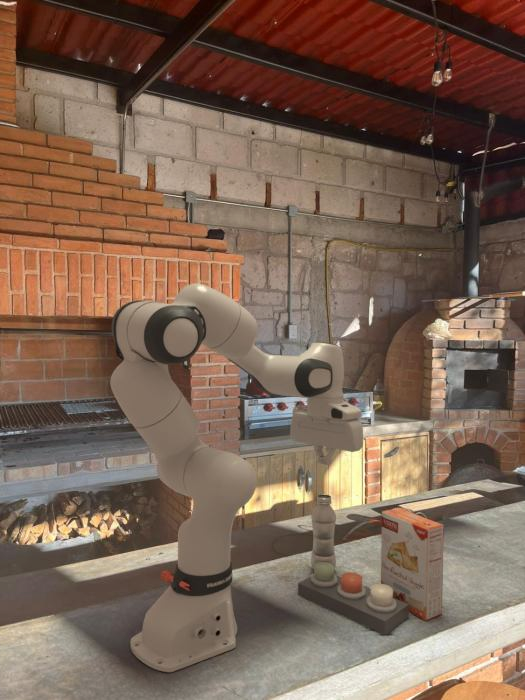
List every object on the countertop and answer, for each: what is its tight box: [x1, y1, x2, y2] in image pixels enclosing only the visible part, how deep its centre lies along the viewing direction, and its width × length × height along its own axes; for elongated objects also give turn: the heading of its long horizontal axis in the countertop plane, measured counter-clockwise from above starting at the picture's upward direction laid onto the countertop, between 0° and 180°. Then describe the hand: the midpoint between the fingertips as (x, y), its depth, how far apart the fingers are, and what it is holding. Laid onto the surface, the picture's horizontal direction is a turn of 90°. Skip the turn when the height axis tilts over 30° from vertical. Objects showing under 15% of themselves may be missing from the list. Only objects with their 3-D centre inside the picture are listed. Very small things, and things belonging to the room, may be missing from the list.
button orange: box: [340, 571, 363, 593], centre depth 124 cm, size 5×5×3 cm
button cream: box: [370, 583, 393, 606], centre depth 118 cm, size 5×5×3 cm
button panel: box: [297, 573, 410, 636], centre depth 124 cm, size 10×24×4 cm, turn 46°
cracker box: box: [380, 507, 445, 622], centre depth 124 cm, size 14×6×21 cm, turn 33°
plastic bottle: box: [310, 493, 337, 570], centre depth 142 cm, size 6×7×20 cm
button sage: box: [313, 562, 335, 581], centre depth 129 cm, size 5×5×3 cm
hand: (324, 463), depth 132 cm, fingers closed
